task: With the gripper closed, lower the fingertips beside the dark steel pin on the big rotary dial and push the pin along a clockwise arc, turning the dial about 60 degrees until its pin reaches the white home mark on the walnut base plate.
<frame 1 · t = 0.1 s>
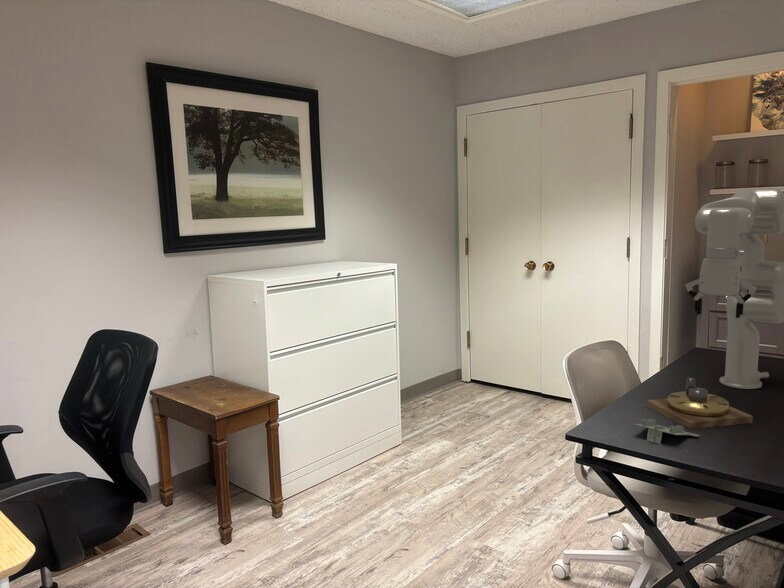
hand: (718, 315, 167), 31 cm above the table, tool pointing down, fingers open, 9 cm apart
metal bracket: (662, 438, 163), on the table
rotary dial: (698, 396, 177), point 6 cm above the table, hinge at 0.0°
base plate: (697, 414, 178), on the table
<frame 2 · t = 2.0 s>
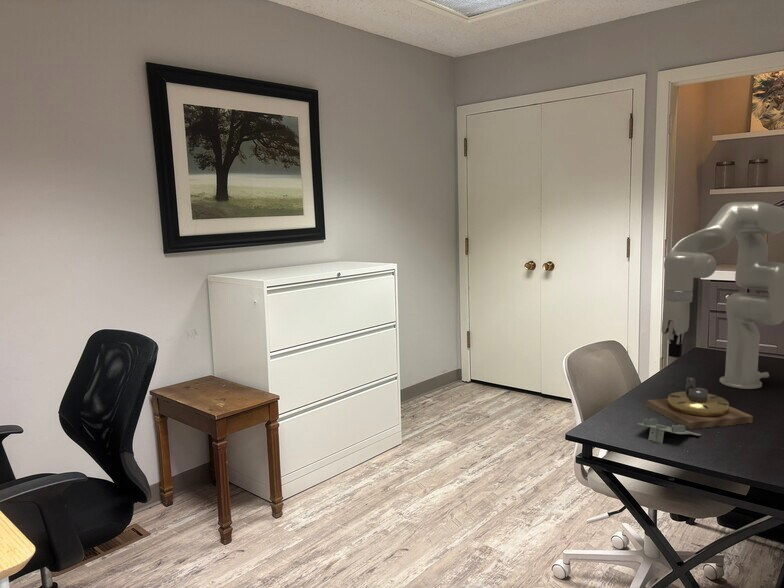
hand: (674, 356, 180), 17 cm above the table, tool pointing down, fingers closed
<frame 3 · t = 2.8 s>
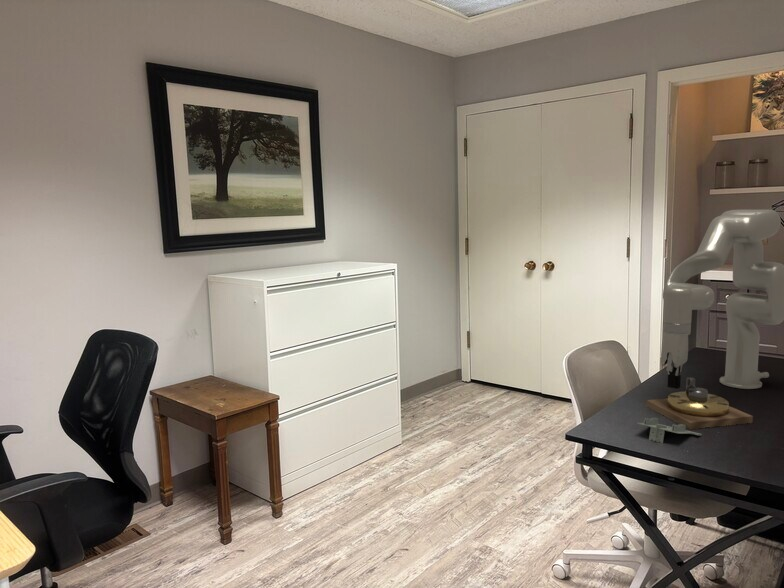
hand: (673, 387, 182), 7 cm above the table, tool pointing down, fingers closed
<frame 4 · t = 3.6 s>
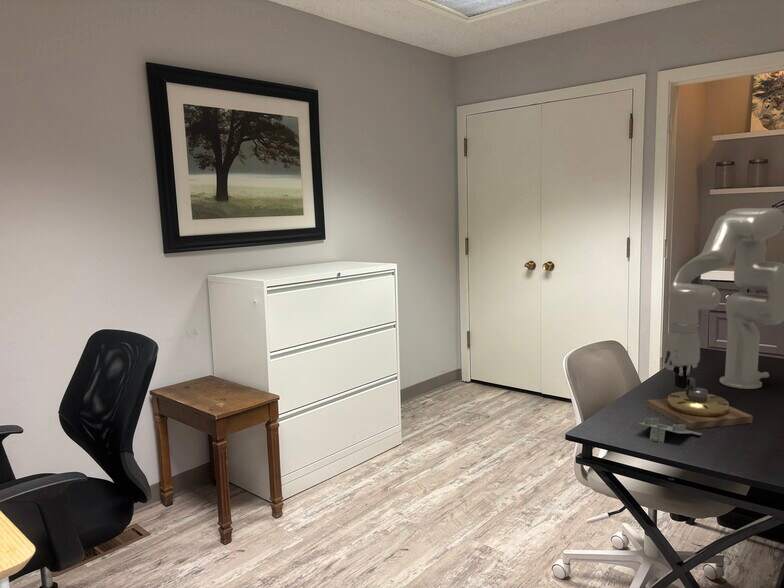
hand: (680, 387, 183), 7 cm above the table, tool pointing down, fingers closed
rotary dial: (698, 396, 177), point 6 cm above the table, hinge at 0.0°, touching gripper
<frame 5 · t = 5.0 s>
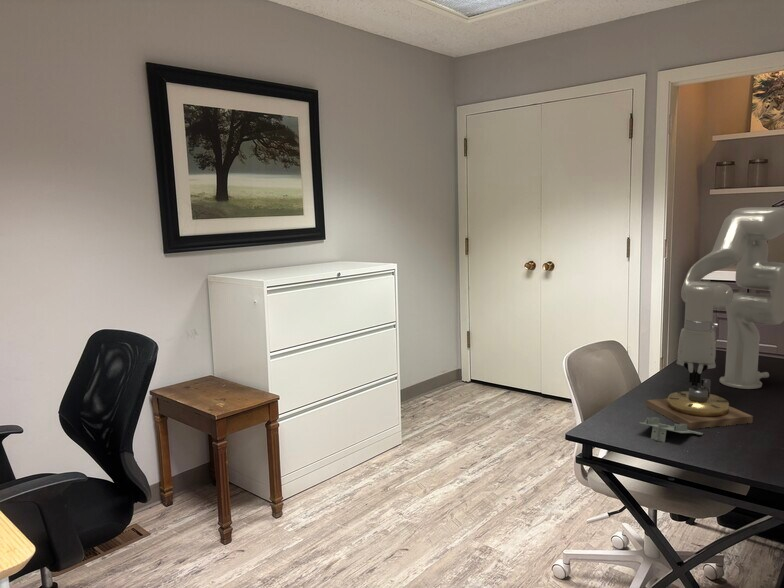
hand: (694, 384, 183), 7 cm above the table, tool pointing down, fingers closed
rotary dial: (698, 396, 177), point 6 cm above the table, hinge at 35.3°, touching gripper
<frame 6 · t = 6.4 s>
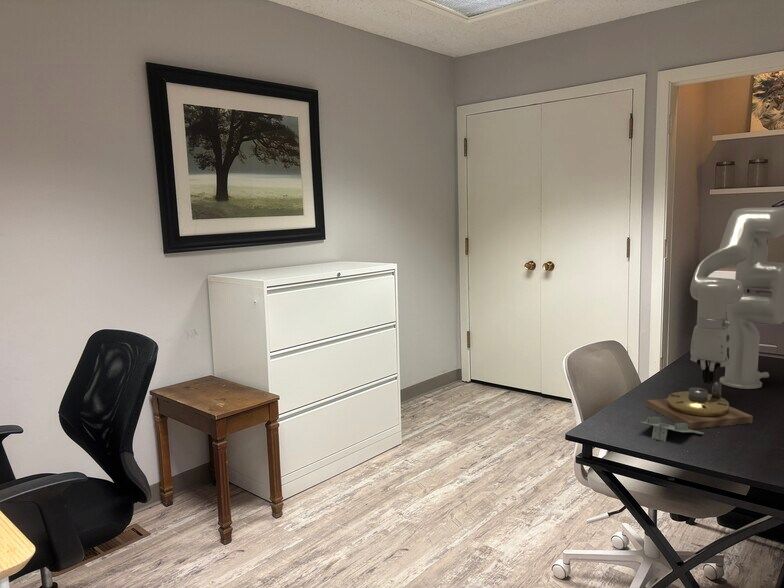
hand: (708, 382, 182), 8 cm above the table, tool pointing down, fingers closed
rotary dial: (698, 396, 177), point 6 cm above the table, hinge at 63.9°
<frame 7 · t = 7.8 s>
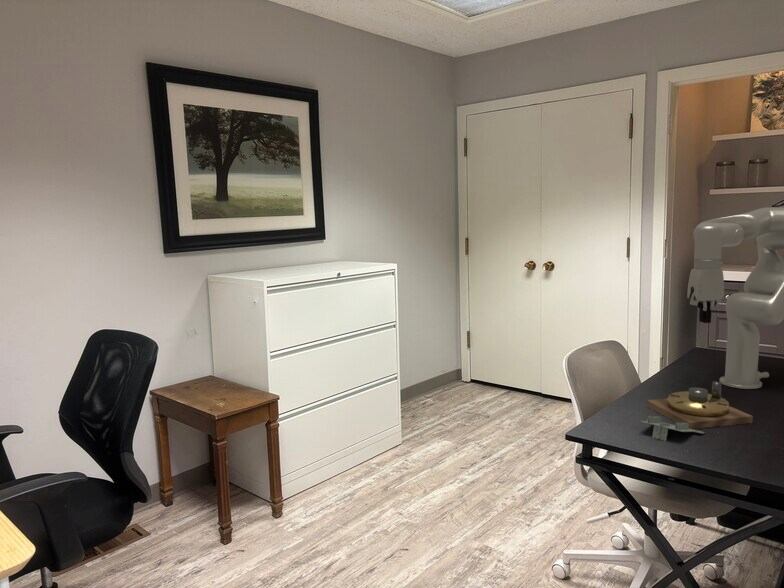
hand: (705, 322, 190), 25 cm above the table, tool pointing down, fingers closed
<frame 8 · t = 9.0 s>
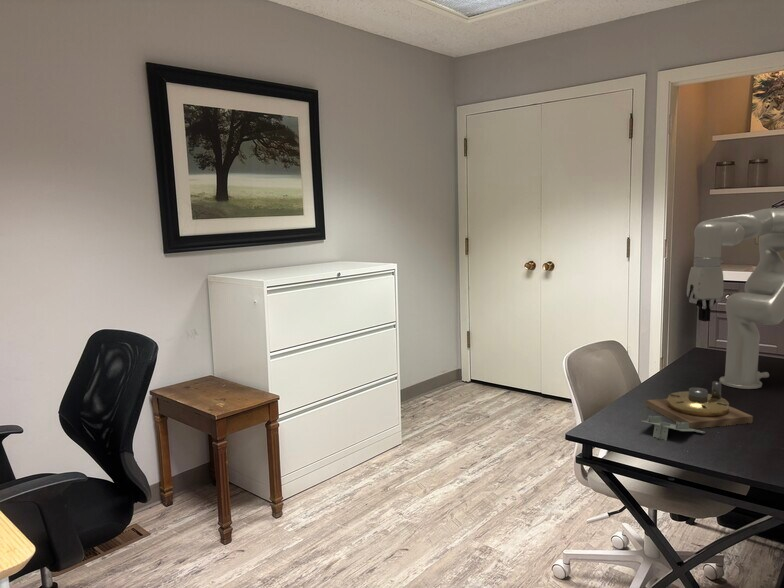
hand: (704, 320, 190), 25 cm above the table, tool pointing down, fingers closed
at the end: rotary dial at +64° (first picture: +0°) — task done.
